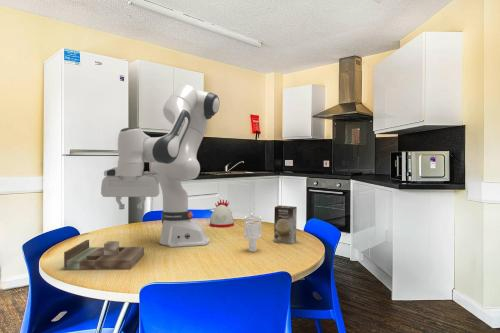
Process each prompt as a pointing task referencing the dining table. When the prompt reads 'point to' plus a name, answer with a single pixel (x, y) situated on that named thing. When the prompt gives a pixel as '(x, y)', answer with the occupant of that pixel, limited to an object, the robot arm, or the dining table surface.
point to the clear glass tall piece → (252, 230)
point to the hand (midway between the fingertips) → (130, 209)
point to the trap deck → (100, 257)
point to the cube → (111, 247)
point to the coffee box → (285, 224)
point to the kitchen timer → (221, 216)
